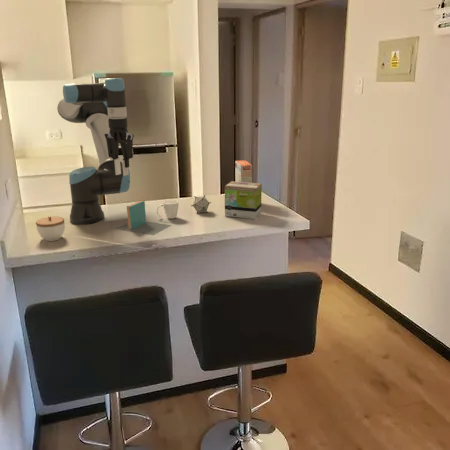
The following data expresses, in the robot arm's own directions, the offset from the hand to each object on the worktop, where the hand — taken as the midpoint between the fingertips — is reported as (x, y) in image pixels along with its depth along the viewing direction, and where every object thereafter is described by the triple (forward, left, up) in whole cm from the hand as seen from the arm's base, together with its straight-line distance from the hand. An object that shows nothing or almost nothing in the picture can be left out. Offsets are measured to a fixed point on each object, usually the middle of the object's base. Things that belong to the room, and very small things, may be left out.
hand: (122, 174), depth 199 cm
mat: (+9, 0, -23) cm, 24 cm away
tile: (+6, 0, -22) cm, 23 cm away
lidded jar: (-17, -26, -23) cm, 39 cm away
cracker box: (+32, +53, -23) cm, 66 cm away
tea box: (+40, +35, -23) cm, 58 cm away
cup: (+12, +15, -23) cm, 30 cm away
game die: (+20, +31, -23) cm, 43 cm away
